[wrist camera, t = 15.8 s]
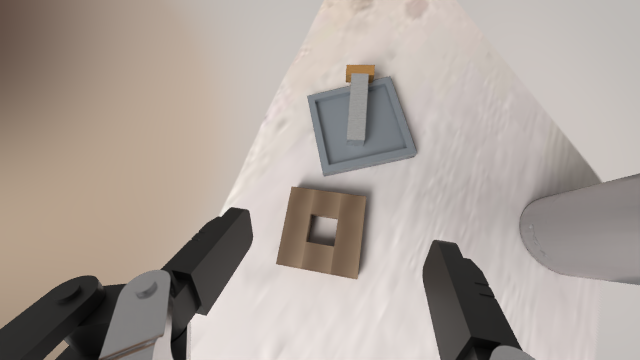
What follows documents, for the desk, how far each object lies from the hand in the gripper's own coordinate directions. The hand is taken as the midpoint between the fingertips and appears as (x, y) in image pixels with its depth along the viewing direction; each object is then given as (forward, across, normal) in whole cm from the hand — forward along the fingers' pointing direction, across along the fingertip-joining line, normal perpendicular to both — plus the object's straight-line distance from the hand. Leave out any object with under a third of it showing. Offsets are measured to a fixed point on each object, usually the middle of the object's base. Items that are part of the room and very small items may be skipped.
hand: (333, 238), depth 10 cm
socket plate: (+15, +3, +14) cm, 21 cm away
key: (+23, 0, +4) cm, 23 cm away
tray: (+27, 0, +2) cm, 27 cm away
